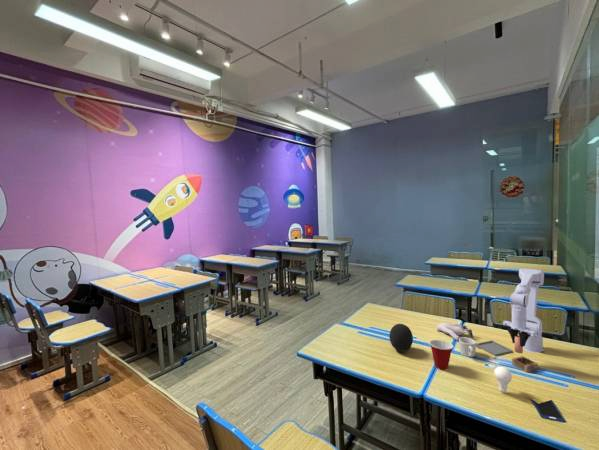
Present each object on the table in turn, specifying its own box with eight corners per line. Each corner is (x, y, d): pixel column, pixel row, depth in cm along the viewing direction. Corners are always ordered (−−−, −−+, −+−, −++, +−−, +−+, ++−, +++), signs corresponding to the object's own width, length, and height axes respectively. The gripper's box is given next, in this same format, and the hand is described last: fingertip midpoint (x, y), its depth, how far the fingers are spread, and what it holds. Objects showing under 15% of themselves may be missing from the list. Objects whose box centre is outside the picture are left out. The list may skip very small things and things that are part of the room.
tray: (491, 342, 161) (491, 340, 161) (512, 353, 149) (512, 350, 149) (475, 346, 158) (475, 343, 158) (495, 357, 146) (495, 354, 146)
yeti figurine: (477, 336, 173) (443, 326, 188) (477, 325, 173) (443, 317, 188) (466, 345, 160) (431, 334, 175) (467, 333, 160) (431, 323, 174)
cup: (481, 362, 142) (481, 347, 141) (464, 361, 143) (463, 346, 143) (472, 351, 152) (472, 337, 152) (456, 350, 154) (456, 336, 153)
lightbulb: (512, 399, 115) (512, 373, 114) (494, 394, 118) (494, 369, 118) (510, 390, 120) (511, 365, 120) (493, 386, 124) (493, 362, 123)
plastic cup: (453, 363, 142) (453, 340, 141) (453, 375, 133) (453, 350, 132) (430, 358, 147) (429, 336, 146) (428, 369, 138) (428, 346, 137)
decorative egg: (399, 342, 165) (398, 318, 164) (417, 351, 155) (417, 325, 154) (385, 349, 159) (384, 323, 158) (403, 358, 148) (403, 331, 147)
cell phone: (541, 418, 105) (541, 417, 105) (528, 395, 117) (528, 393, 117) (566, 424, 102) (566, 422, 102) (550, 399, 114) (550, 397, 114)
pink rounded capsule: (517, 349, 140) (517, 335, 140) (524, 352, 137) (524, 337, 137) (513, 350, 139) (513, 336, 139) (519, 353, 136) (519, 338, 136)
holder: (522, 363, 140) (522, 356, 140) (537, 370, 133) (537, 363, 133) (511, 365, 138) (511, 358, 138) (526, 373, 131) (526, 366, 131)
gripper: (498, 313, 143) (498, 339, 144) (528, 324, 129) (528, 353, 130) (509, 311, 145) (508, 336, 146) (539, 322, 131) (539, 350, 132)
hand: (518, 344), depth 138 cm, fingers closed on pink rounded capsule, 3 cm apart
